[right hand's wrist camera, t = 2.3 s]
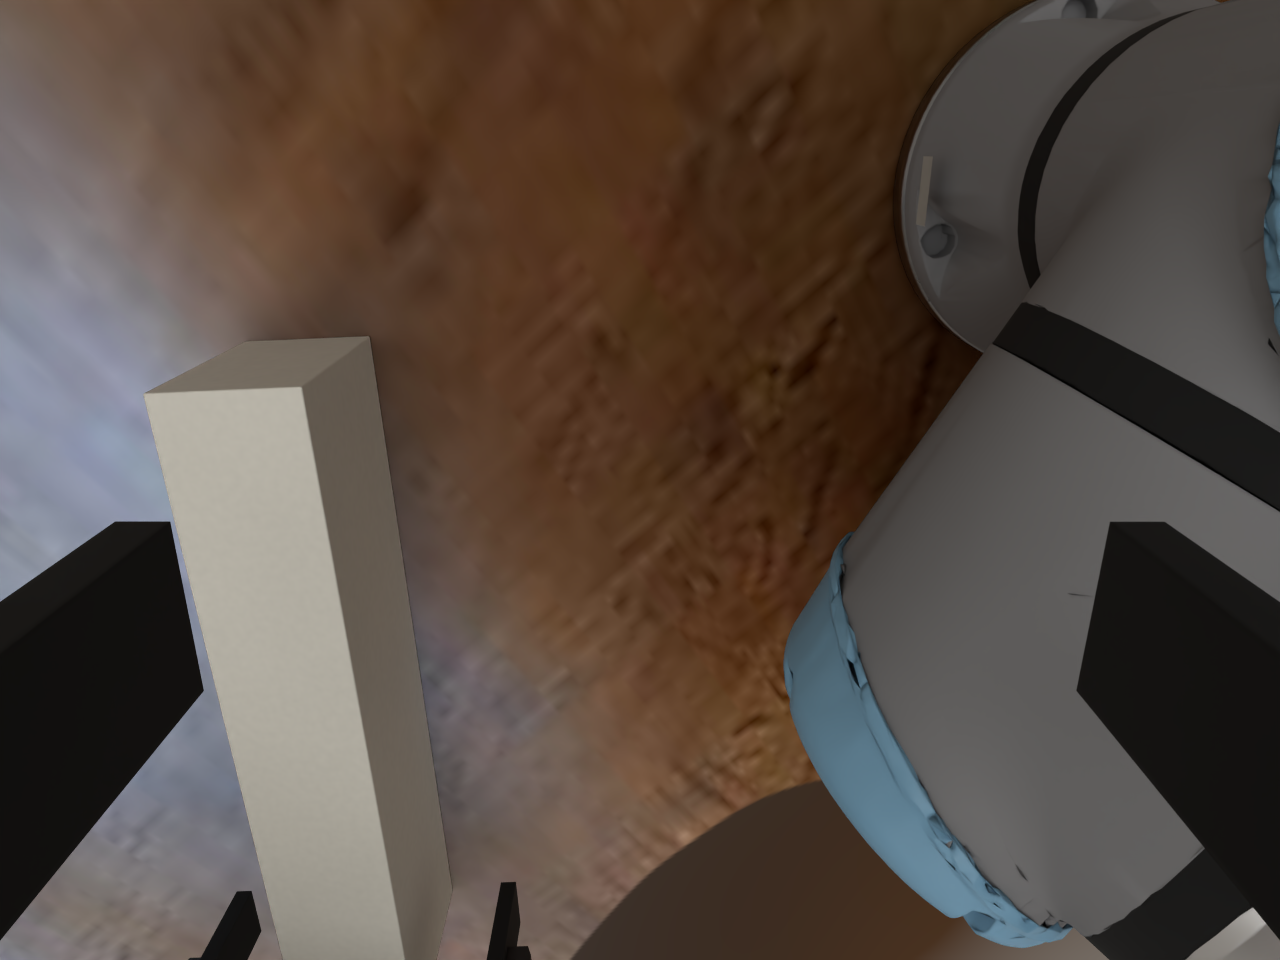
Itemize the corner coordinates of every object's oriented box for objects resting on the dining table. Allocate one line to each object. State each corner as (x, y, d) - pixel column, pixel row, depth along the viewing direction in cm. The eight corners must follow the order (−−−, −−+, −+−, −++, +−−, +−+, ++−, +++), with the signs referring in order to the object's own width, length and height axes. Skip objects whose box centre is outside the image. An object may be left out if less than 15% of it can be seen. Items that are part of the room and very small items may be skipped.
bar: (244, 341, 40) (141, 393, 31) (369, 335, 40) (301, 386, 31) (355, 894, 51) (302, 1042, 43) (452, 890, 51) (419, 1036, 43)
